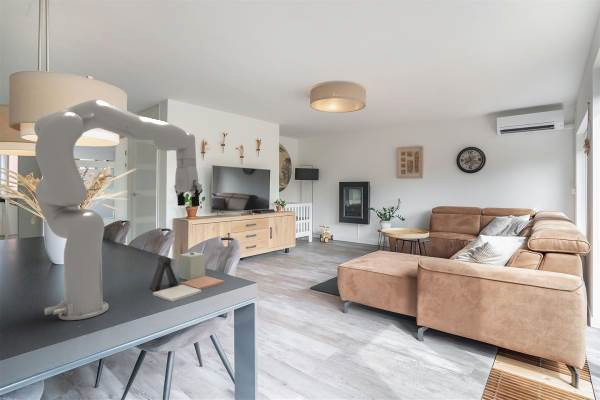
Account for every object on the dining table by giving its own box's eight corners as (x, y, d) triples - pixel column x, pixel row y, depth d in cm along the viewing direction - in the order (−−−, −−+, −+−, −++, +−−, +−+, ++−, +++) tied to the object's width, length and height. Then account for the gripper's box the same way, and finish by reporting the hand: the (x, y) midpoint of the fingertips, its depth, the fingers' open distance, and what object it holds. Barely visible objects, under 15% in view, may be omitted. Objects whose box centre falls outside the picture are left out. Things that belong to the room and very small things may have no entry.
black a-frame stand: (154, 292, 115) (153, 259, 115) (149, 288, 120) (149, 257, 120) (179, 287, 121) (178, 256, 121) (174, 284, 126) (173, 254, 125)
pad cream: (171, 301, 105) (171, 299, 105) (152, 294, 112) (152, 292, 112) (201, 292, 115) (201, 290, 115) (182, 286, 122) (182, 284, 122)
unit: (190, 280, 130) (190, 255, 129) (179, 277, 134) (179, 253, 134) (205, 277, 136) (205, 252, 135) (194, 274, 140) (194, 250, 140)
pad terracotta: (199, 290, 118) (199, 288, 118) (180, 284, 125) (180, 282, 125) (224, 282, 127) (224, 280, 127) (205, 277, 134) (205, 275, 134)
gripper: (166, 164, 130) (168, 206, 131) (191, 162, 120) (193, 207, 121) (182, 165, 136) (184, 204, 137) (207, 163, 126) (209, 205, 127)
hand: (188, 205), depth 129 cm, fingers open, 9 cm apart
